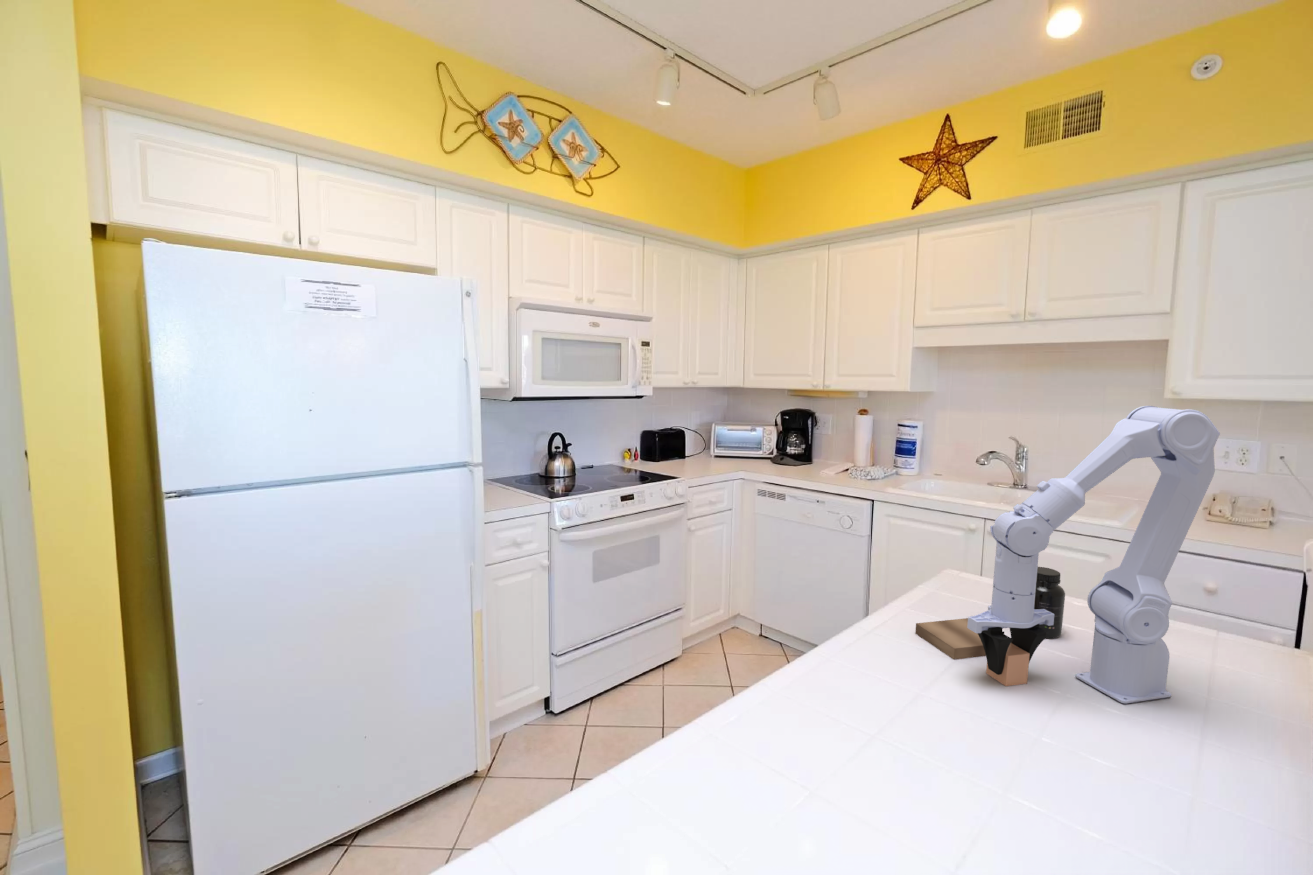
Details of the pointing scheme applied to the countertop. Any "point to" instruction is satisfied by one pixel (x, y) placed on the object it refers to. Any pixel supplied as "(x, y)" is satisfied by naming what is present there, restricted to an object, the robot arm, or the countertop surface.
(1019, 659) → the terracotta block
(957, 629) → the walnut board
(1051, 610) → the supplement bottle
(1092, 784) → the countertop surface
